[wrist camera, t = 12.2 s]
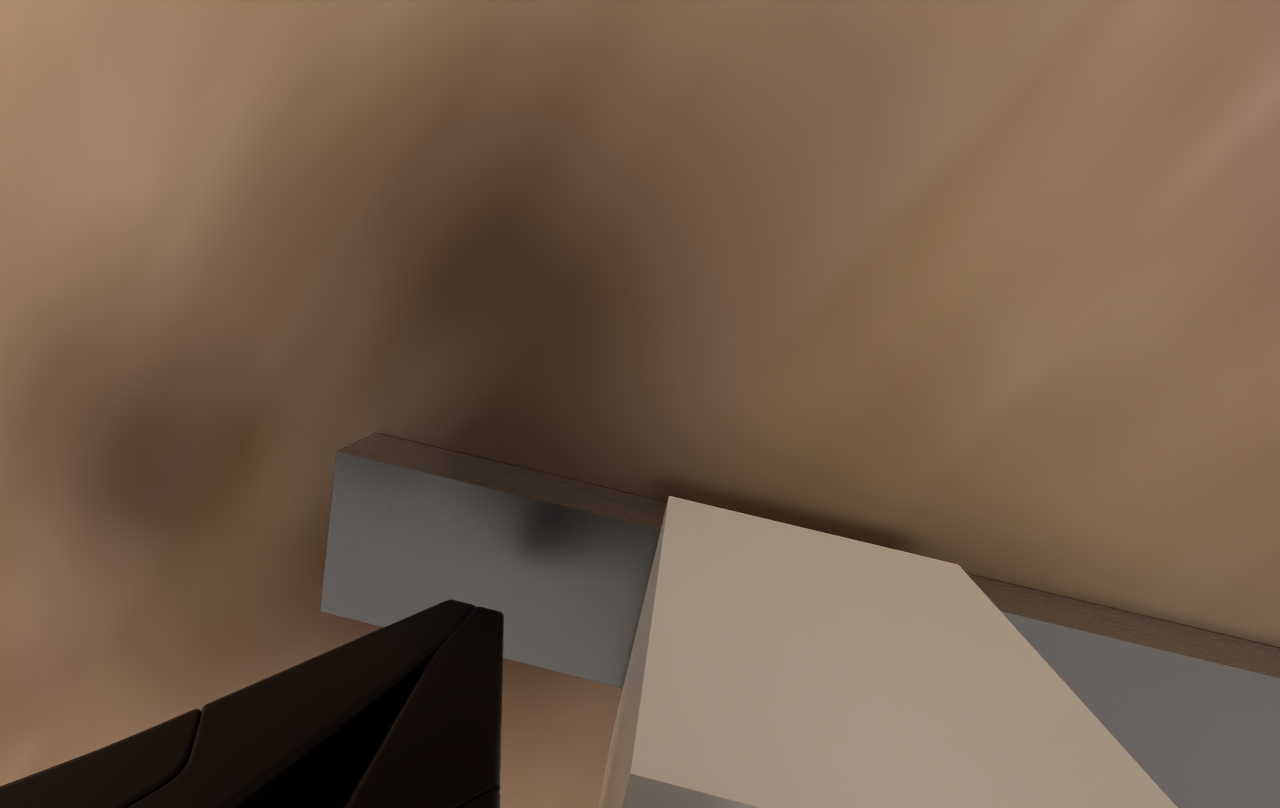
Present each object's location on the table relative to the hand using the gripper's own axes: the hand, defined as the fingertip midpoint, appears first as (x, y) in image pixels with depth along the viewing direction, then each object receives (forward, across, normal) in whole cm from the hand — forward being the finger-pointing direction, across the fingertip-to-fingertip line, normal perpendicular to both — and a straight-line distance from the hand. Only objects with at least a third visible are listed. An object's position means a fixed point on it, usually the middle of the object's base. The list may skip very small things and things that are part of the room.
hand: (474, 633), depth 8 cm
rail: (+3, -7, 0) cm, 7 cm away
